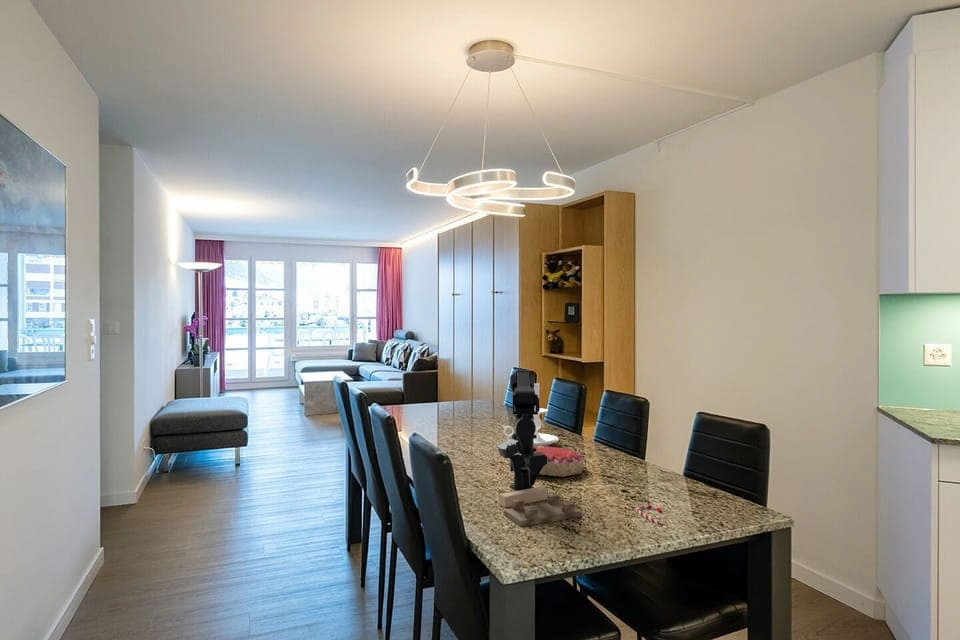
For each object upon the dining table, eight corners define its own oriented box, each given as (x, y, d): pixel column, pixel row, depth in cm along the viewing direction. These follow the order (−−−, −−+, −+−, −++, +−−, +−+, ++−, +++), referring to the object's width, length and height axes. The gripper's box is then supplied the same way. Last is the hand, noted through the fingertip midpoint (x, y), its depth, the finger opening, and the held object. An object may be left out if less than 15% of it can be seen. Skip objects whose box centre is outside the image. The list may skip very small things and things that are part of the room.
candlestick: (501, 440, 266) (501, 379, 265) (554, 440, 266) (555, 379, 266) (504, 450, 245) (504, 384, 245) (562, 450, 246) (562, 384, 245)
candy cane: (649, 522, 158) (631, 504, 173) (649, 527, 158) (631, 509, 173) (676, 522, 159) (657, 504, 174) (676, 527, 159) (657, 508, 174)
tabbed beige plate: (520, 526, 157) (520, 511, 157) (504, 514, 166) (504, 501, 166) (582, 516, 165) (582, 502, 165) (563, 505, 175) (563, 492, 174)
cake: (509, 473, 206) (511, 450, 207) (522, 459, 231) (524, 439, 231) (579, 483, 200) (580, 460, 200) (585, 468, 224) (587, 447, 224)
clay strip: (505, 508, 173) (505, 496, 173) (499, 505, 175) (499, 494, 175) (547, 499, 181) (547, 488, 181) (541, 497, 184) (541, 486, 183)
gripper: (488, 427, 183) (487, 476, 183) (515, 439, 166) (515, 493, 166) (518, 424, 188) (518, 472, 188) (548, 436, 171) (548, 488, 171)
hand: (524, 481), depth 178 cm, fingers open, 9 cm apart
